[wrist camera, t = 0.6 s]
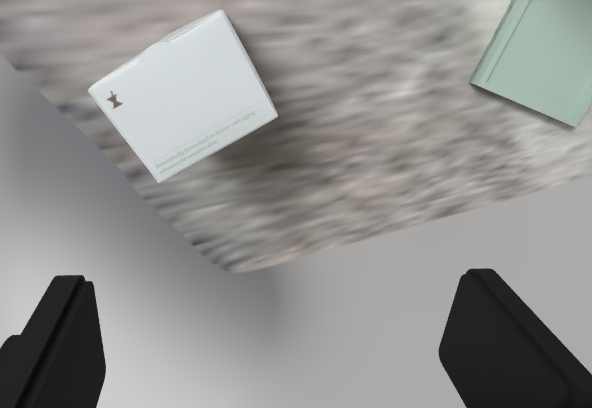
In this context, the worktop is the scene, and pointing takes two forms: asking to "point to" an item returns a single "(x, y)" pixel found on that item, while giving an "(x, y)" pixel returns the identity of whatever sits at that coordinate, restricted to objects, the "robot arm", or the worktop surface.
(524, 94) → the tray
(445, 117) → the worktop surface
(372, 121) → the worktop surface
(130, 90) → the skincare box
